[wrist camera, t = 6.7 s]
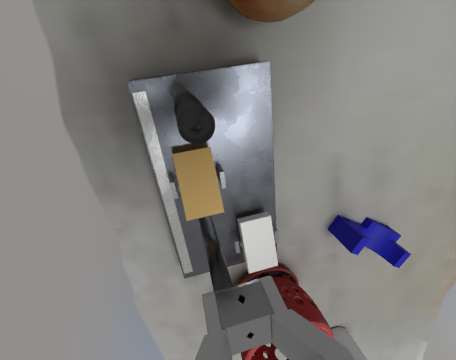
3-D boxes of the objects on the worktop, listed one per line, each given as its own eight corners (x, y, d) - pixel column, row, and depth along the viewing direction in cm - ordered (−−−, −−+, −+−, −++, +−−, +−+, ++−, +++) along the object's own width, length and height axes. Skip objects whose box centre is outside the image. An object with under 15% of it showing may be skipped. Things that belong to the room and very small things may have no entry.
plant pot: (280, 244, 40) (322, 309, 29) (303, 288, 46) (344, 354, 36) (212, 283, 40) (229, 361, 29) (244, 321, 46) (267, 396, 36)
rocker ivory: (234, 218, 31) (238, 223, 29) (266, 210, 32) (272, 215, 30) (243, 265, 33) (247, 274, 31) (273, 257, 33) (279, 265, 31)
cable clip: (387, 225, 44) (417, 247, 39) (371, 244, 45) (398, 267, 40) (342, 207, 40) (369, 228, 34) (327, 228, 41) (351, 252, 36)
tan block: (171, 156, 26) (170, 154, 24) (210, 149, 27) (212, 146, 25) (185, 218, 27) (184, 221, 25) (223, 209, 27) (226, 211, 25)
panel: (131, 80, 25) (70, 107, 9) (259, 61, 27) (395, 57, 11) (183, 263, 37) (196, 414, 21) (269, 240, 39) (341, 361, 23)
